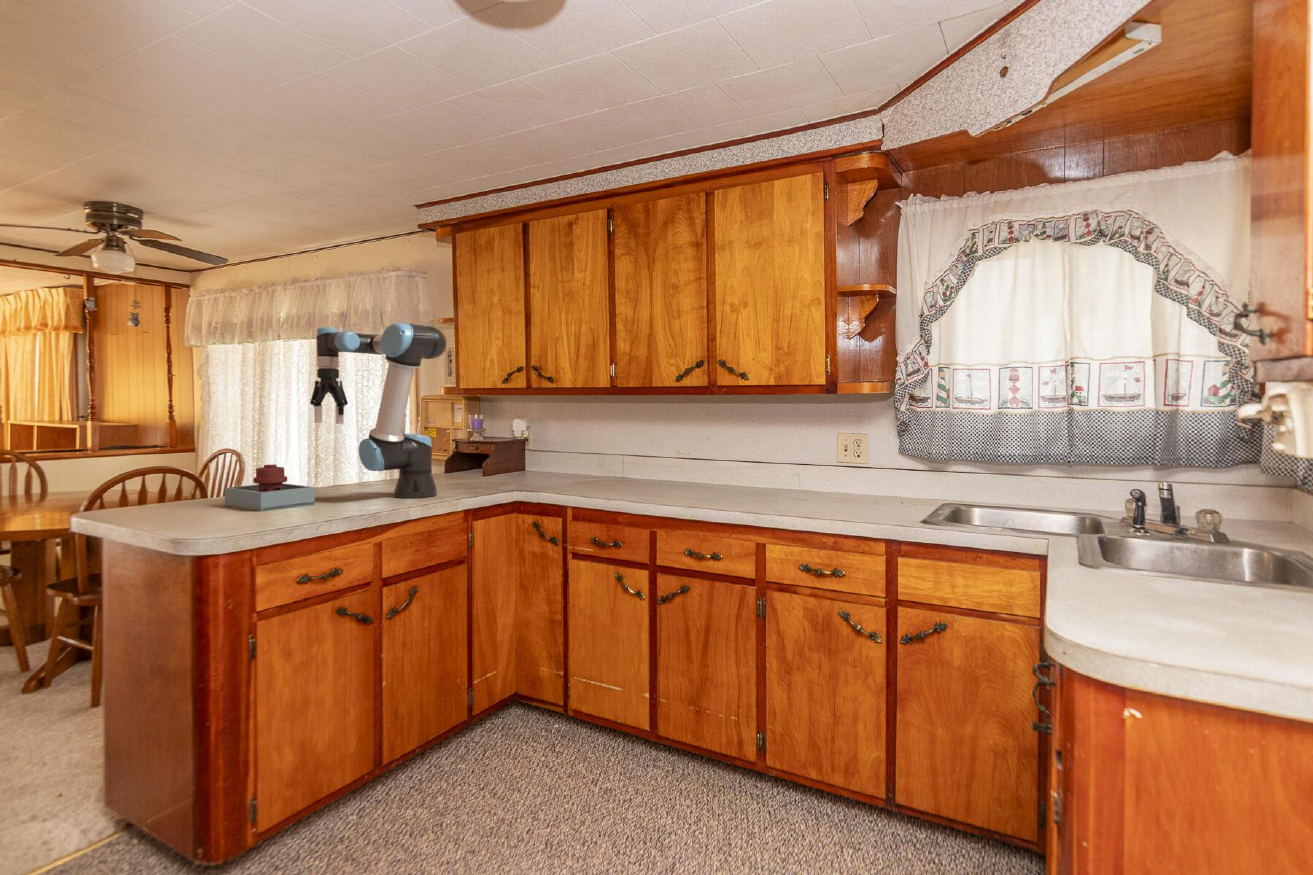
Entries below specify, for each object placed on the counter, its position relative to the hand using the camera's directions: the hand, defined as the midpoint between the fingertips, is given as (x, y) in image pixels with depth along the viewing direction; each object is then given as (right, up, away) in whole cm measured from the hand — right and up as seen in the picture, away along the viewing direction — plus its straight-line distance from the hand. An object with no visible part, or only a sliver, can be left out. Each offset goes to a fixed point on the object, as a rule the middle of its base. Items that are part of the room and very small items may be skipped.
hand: (329, 423), depth 264 cm
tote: (-4, -28, -32) cm, 43 cm away
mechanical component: (-4, -27, -33) cm, 43 cm away
